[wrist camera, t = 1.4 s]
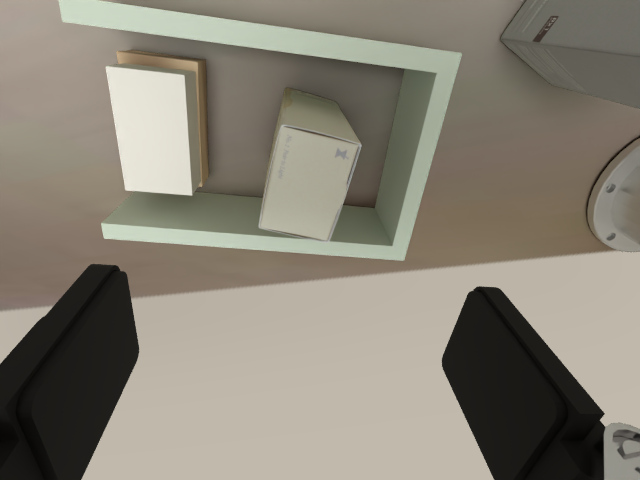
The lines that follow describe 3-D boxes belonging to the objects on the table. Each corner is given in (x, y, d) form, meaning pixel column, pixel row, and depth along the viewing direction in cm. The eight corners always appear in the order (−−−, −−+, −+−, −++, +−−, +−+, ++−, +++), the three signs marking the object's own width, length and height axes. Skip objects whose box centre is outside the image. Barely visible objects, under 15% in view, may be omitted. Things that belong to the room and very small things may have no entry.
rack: (424, 49, 27) (462, 53, 21) (384, 220, 34) (404, 260, 28) (116, 5, 25) (57, -6, 18) (141, 199, 31) (104, 238, 25)
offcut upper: (195, 71, 25) (184, 75, 22) (201, 181, 28) (192, 195, 26) (124, 63, 24) (105, 66, 22) (140, 177, 28) (125, 190, 25)
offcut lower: (207, 59, 27) (197, 62, 24) (209, 174, 31) (202, 186, 29) (134, 49, 26) (116, 51, 24) (147, 168, 31) (133, 180, 28)
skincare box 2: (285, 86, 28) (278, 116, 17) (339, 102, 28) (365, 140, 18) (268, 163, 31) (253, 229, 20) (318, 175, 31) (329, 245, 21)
